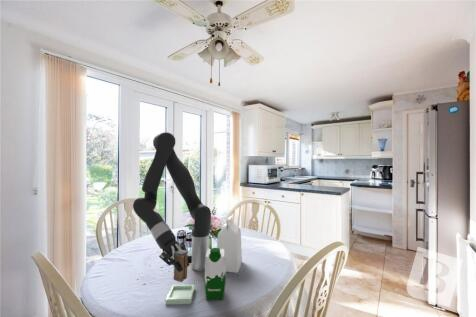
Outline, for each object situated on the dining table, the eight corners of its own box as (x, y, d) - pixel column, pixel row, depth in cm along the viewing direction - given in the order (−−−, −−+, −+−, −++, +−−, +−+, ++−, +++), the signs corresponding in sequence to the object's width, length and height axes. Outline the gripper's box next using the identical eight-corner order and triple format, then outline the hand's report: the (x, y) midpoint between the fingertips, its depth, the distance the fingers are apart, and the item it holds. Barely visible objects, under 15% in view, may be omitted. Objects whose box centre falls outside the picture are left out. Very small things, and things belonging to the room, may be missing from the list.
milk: (237, 272, 110) (238, 221, 111) (216, 270, 113) (216, 220, 113) (242, 261, 122) (242, 215, 122) (222, 259, 124) (222, 214, 125)
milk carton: (203, 301, 88) (203, 252, 88) (206, 288, 97) (206, 243, 97) (225, 301, 88) (225, 252, 88) (225, 288, 97) (226, 243, 97)
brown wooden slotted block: (179, 275, 93) (180, 249, 94) (187, 278, 92) (187, 251, 92) (173, 279, 90) (174, 252, 90) (181, 282, 89) (182, 254, 89)
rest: (194, 289, 96) (194, 284, 96) (190, 303, 86) (190, 298, 86) (172, 289, 96) (172, 284, 96) (165, 304, 86) (165, 299, 86)
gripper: (155, 234, 88) (178, 271, 83) (178, 225, 101) (199, 256, 96) (145, 245, 90) (167, 281, 85) (169, 234, 103) (189, 266, 98)
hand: (184, 268), depth 90 cm, fingers closed on brown wooden slotted block, 3 cm apart
